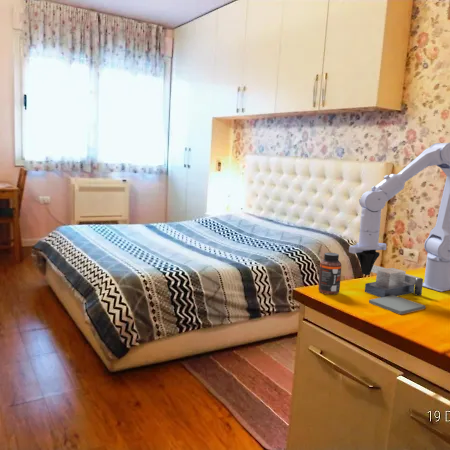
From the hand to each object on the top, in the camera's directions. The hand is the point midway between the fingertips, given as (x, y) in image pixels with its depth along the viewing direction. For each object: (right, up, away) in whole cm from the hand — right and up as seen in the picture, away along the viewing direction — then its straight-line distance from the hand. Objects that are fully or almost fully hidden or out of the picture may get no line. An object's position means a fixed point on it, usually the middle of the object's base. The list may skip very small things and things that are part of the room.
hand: (365, 274), depth 136 cm
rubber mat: (+2, -6, -18) cm, 19 cm away
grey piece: (+5, -5, -6) cm, 9 cm away
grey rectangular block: (+5, -2, -7) cm, 9 cm away
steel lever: (+8, -4, -1) cm, 9 cm away
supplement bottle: (-13, -4, -8) cm, 16 cm away
